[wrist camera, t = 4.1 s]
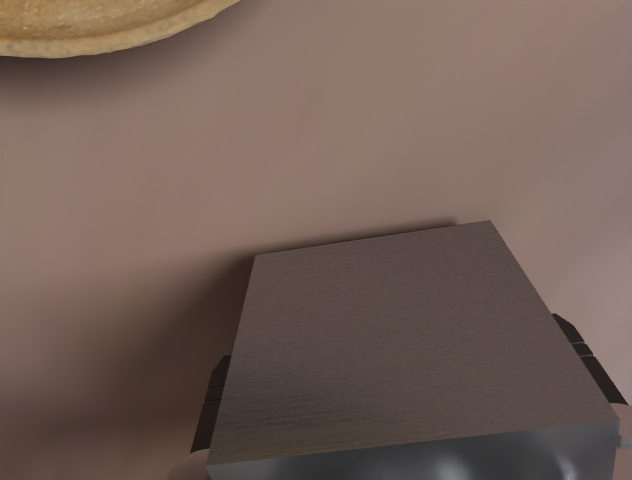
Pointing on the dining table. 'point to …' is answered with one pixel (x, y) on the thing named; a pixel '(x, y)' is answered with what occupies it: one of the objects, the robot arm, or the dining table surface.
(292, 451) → the socket
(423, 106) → the dining table surface
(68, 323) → the dining table surface
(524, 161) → the dining table surface
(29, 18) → the plant saucer
